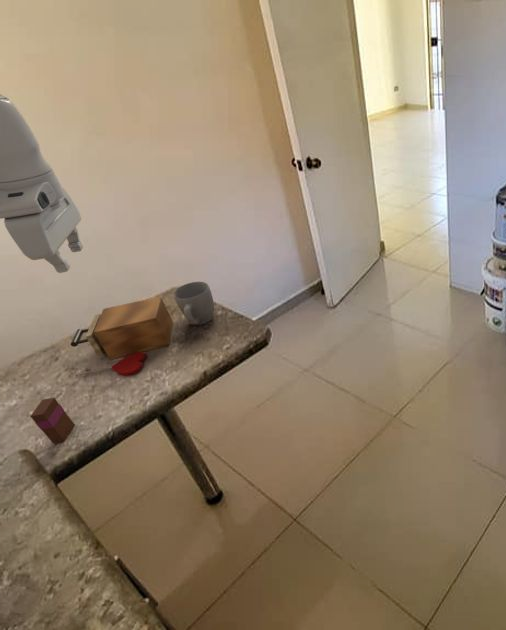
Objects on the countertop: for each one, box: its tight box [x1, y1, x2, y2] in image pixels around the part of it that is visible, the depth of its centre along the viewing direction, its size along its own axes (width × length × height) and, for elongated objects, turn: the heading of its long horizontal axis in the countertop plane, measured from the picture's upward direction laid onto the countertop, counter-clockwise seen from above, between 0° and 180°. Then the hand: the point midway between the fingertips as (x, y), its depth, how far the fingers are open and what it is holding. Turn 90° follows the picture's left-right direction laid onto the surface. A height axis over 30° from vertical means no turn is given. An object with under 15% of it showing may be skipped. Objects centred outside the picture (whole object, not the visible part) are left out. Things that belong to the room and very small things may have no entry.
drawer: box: [70, 313, 107, 359], centre depth 110 cm, size 17×10×7 cm, turn 111°
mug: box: [173, 281, 215, 326], centre depth 116 cm, size 12×9×10 cm
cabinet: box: [94, 296, 174, 360], centre depth 112 cm, size 14×11×9 cm
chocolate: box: [30, 397, 76, 444], centre depth 86 cm, size 2×5×8 cm, turn 11°
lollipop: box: [74, 351, 147, 377], centre depth 104 cm, size 8×1×15 cm
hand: (71, 260), depth 85 cm, fingers open, 8 cm apart
